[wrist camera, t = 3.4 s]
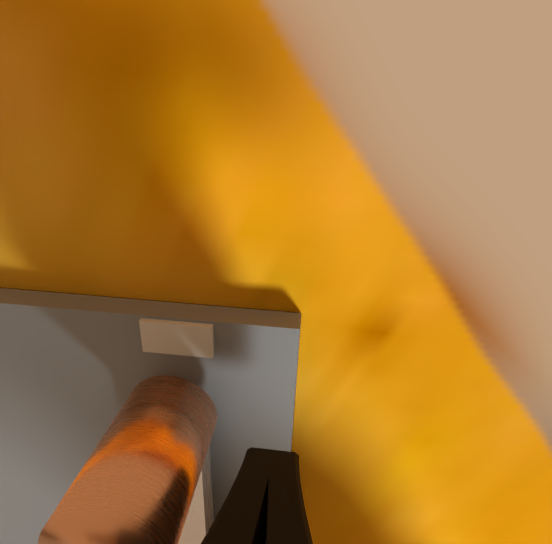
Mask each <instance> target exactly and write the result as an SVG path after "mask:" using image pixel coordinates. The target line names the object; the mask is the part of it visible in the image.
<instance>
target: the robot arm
mask: <svg viewBox="0 0 552 544" xmlns="http://www.w3.org/2000/svg"><path fill="white" fill-rule="evenodd" d="M265 543H266V544H313V543H312V539H311V534H310V530H309V526H308V521H307V517H306V512H305V507H304V502H303V496H302V490H301V483H300V474H299V456H298V455H297V454H296V453H295V452H289V451H280V450H271V449H263V448H254V447H251V448H249V449H247V451H246V454H245V457H244V460H243V463H242V465H241V468H240V470H239V472H238V475H237V477H236V479H235V481H234V483H233V485H232V487H231V490H230V492H229V494H228V496H227V498H226V500H225V501H224V503H223V505H222V507H221V509H220V511H219V513H218V514H217V516H216V518H215V520H214V522H213V524H212V526H211V527H210V529H209V531H208V532H207V534H206V536H205V537H204V539H203V541H202V542H201V544H265Z"/></svg>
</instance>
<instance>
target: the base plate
mask: <svg viewBox="0 0 552 544" xmlns="http://www.w3.org/2000/svg"><path fill="white" fill-rule="evenodd" d="M300 323H301V313H294V312H282V311H270V310H258V309H246V308H234V307H222V306H210V305H198V304H186V303H174V302H162V301H150V300H139V299H127V298H115V297H103V296H91V295H79V294H67V293H55V292H43V291H31V290H19V289H7V288H0V544H38V539H39V535H40V533H41V531H42V529H43V528H44V526H45V525H46V523H47V521H48V520H49V518H50V517H51V515H52V514H53V512H54V511H55V509H56V508H57V506H58V504H59V503H60V501H61V500H62V498H63V497H64V495H65V494H66V492H67V491H68V489H69V488H70V486H71V484H72V483H73V481H74V480H75V478H76V477H77V475H78V474H79V472H80V471H81V469H82V467H83V466H84V464H85V463H86V461H87V460H88V458H89V457H90V455H91V454H92V452H93V451H94V449H95V447H96V446H97V444H98V443H99V441H100V440H101V438H102V437H103V435H104V434H105V432H106V430H107V429H108V427H109V426H110V424H111V423H112V421H113V420H114V418H115V417H116V415H117V413H118V412H119V410H120V409H121V407H122V406H123V404H124V403H125V401H126V400H127V398H128V397H129V395H130V393H131V392H132V390H133V389H134V388H135V386H136V385H137V384H138V383H140V382H141V381H143V380H145V379H147V378H149V377H153V376H158V375H170V376H176V377H180V378H183V379H186V380H188V381H190V382H192V383H194V384H196V385H197V386H199V387H200V388H201V389H203V390H204V391H205V392H206V393H207V394H208V395H209V397H210V398H211V399H212V401H213V403H214V405H215V407H216V411H217V423H216V426H215V430H214V433H213V436H212V439H211V442H210V457H211V477H212V497H213V517H214V520H215V518H216V516H217V514H218V513H219V511H220V509H221V507H222V505H223V503H224V501H225V500H226V498H227V496H228V494H229V492H230V490H231V487H232V485H233V483H234V481H235V479H236V477H237V475H238V472H239V470H240V468H241V465H242V463H243V460H244V457H245V454H246V451H247V449H249V448H251V447H254V448H263V449H271V450H280V451H289V452H291V446H292V432H293V418H294V405H295V391H296V378H297V364H298V350H299V337H300ZM265 544H266V543H265Z"/></svg>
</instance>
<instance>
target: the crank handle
mask: <svg viewBox="0 0 552 544" xmlns="http://www.w3.org/2000/svg"><path fill="white" fill-rule="evenodd" d="M216 423H217V411H216V407H215V405H214V403H213V401H212V399H211V398H210V397H209V395H208V394H207V393H206V392H205V391H204V390H203V389H201V388H200V387H199V386H197V385H196V384H194V383H192V382H190V381H188V380H186V379H183V378H180V377H176V376H170V375H158V376H153V377H149V378H147V379H145V380H143V381H141V382H140V383H138V384H137V385H136V386H135V388H134V389H133V390H132V392H131V393H130V395H129V397H128V398H127V400H126V401H125V403H124V404H123V406H122V407H121V409H120V410H119V412H118V413H117V415H116V417H115V418H114V420H113V421H112V423H111V424H110V426H109V427H108V429H107V430H106V432H105V434H104V435H103V437H102V438H101V440H100V441H99V443H98V444H97V446H96V447H95V449H94V451H93V452H92V454H91V455H90V457H89V458H88V460H87V461H86V463H85V464H84V466H83V467H82V469H81V471H80V472H79V474H78V475H77V477H76V478H75V480H74V481H73V483H72V484H71V486H70V488H69V489H68V491H67V492H66V494H65V495H64V497H63V498H62V500H61V501H60V503H59V504H58V506H57V508H56V509H55V511H54V512H53V514H52V515H51V517H50V518H49V520H48V521H47V523H46V525H45V526H44V528H43V529H42V531H41V533H40V535H39V539H38V544H201V542H202V541H203V539H204V537H205V536H206V534H207V532H208V531H209V529H210V527H211V526H212V524H213V522H214V517H213V497H212V477H211V457H210V442H211V439H212V436H213V433H214V430H215V426H216Z"/></svg>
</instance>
